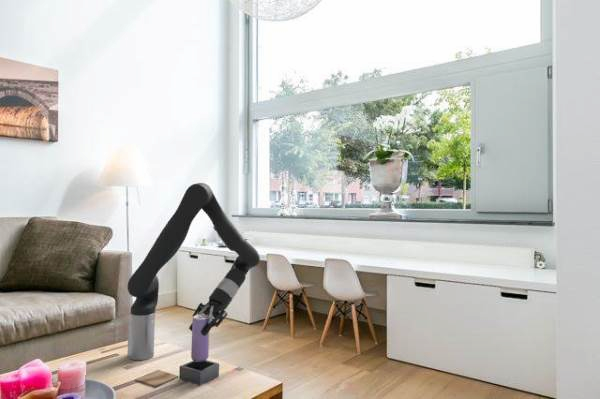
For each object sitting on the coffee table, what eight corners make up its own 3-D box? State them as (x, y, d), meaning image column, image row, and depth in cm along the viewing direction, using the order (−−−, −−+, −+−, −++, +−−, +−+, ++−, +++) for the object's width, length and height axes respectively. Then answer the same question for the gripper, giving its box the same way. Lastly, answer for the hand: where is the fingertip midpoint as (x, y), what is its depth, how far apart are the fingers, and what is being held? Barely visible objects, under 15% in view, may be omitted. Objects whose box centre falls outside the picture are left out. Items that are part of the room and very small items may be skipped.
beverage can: (204, 363, 150) (205, 319, 150) (188, 361, 151) (189, 317, 151) (211, 357, 156) (212, 315, 156) (195, 355, 157) (197, 313, 157)
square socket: (179, 379, 152) (179, 366, 152) (198, 370, 160) (198, 358, 160) (200, 385, 147) (200, 372, 147) (218, 376, 155) (219, 363, 155)
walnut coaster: (135, 380, 149) (135, 379, 149) (158, 371, 158) (158, 369, 158) (156, 387, 144) (156, 385, 144) (178, 377, 153) (178, 375, 153)
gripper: (206, 284, 164) (178, 322, 155) (232, 290, 155) (203, 330, 146) (216, 296, 168) (190, 333, 159) (242, 303, 159) (215, 343, 150)
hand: (196, 332), depth 152 cm, fingers closed on beverage can, 6 cm apart
